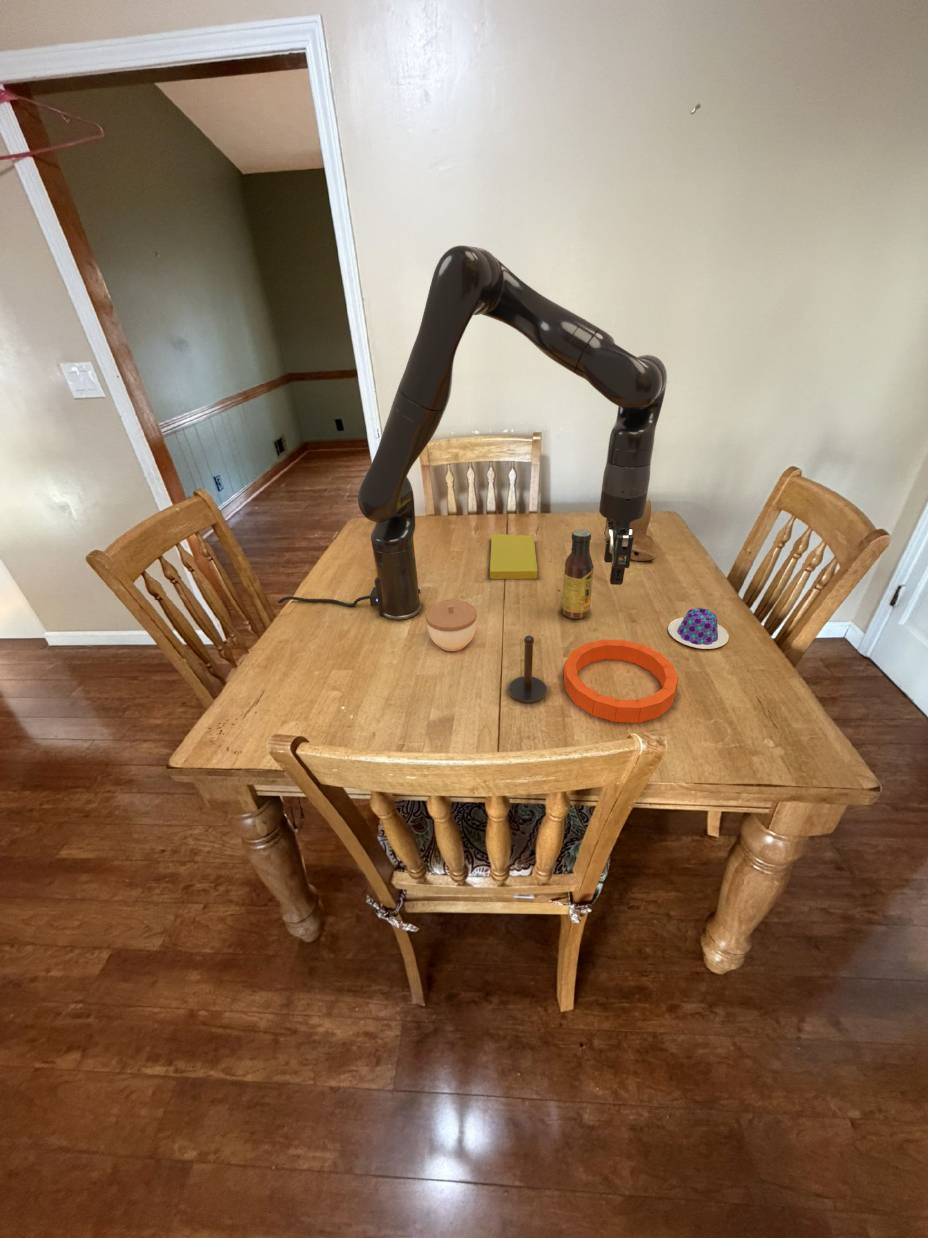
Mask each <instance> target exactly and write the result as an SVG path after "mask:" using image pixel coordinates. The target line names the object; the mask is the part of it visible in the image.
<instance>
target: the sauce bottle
mask: <svg viewBox="0 0 928 1238" xmlns="http://www.w3.org/2000/svg"><path fill="white" fill-rule="evenodd" d="M591 540H592V532H591V531H590V530H587V529H582V528H580V529H575V530H573V531H572V532H571V541H572V542H571V551H570V554H569V555H568V556H567V557H566V560H565V563H564V572H563V585H562V586H563V587H562V603H561V604H562V605H561V606H562V608H561V610H562V614H563V615H564V616H565V617H566V618H569V619H572V620H581V619H585V618H586V617H587V616H588V615H589V612H590V608H591V600H592V591H593V589H592V588H593V580H594V579H593V578H594V567H595V566H594V564H593V560H592V556H591V552H590V547H591V546H590V545H591Z"/></svg>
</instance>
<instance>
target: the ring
mask: <svg viewBox="0 0 928 1238" xmlns="http://www.w3.org/2000/svg"><path fill="white" fill-rule="evenodd" d="M603 660H611V661H612V660H613V661H615V660H616V661H617V660H618V661H624V662H628V663H631V664H636V665H638V666H640V667H642V668H643V669H645V670H647V671H649V672H650V673H651V674H652V675H653V676H654V677H655V678H656V679H657V680H658V681H659V683H660V686H661V689H659V690H658V691H656V693H654V694H653V695H649V696H646V697H642V698H639V699H638V698H637V699H622V698H621V699H620V698H615V697H611V696H607V695H604V694H601V693H598V692H597V691H595V690H593V689H592V688H590V687H589V686H587V685H586V684H585V683H584V681H583V680H582V679H581V678H580V676H579V675H578V673H579V671H580V670H581V669H582V668H584V667H586V666H587V665H589V664H590V663H594V662H595V663H596V662H598V661H603ZM563 681H564V690H565V692H566V694H567V695H568V696H569V698H570V699H571V701H572V702H573V703H574V705H576V706H577V707H579V709H580V708H581V709H582V710H583V711H585V712H586V713H588V714H589V715H591V716H593V717H596V718H600V719H603V720H606V721H610V722H612V723H627V724H628V723H629V724H640V723H645V722H648V721H650V720H654V719H658V718H660V717H661V716H662V715H663V714H664V713H666V712H667V711H668V710H670V709H671V708H672V705H673V702H674V698H675V695H676V691H677V687H678V683H679V677H678V674H677V671H676V669H675V666H674V664H672V662H670V660H669V659H667V658H666V657H665V655H663V654H662V653H661V652H659V651H657V650H655V649H653V648H651V647H649V646H647V645H645V644H643V643H637V642H633V641H630V640H627V639H626V640H625V639H608V638H607V639H606V638H605V639H604V638H603V639H597V640H594V641H590V642H585V643H583V644H582V645H580V646H578V647H576V648H575V649H573V650H572V651H571V652H570V654H569V656H568V657H567V659H565V662H564V672H563Z"/></svg>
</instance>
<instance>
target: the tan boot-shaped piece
mask: <svg viewBox="0 0 928 1238" xmlns="http://www.w3.org/2000/svg"><path fill="white" fill-rule="evenodd" d="M651 516H652V501H651V499H650V498H649V497H648V496H647V498H646V504H645V510H644V515H643V516H642V517H641V518H640V519H638V520H634V521H632V522H630V527H632V535H633V537H634V540H633V544H632V551H631V558H630V561H631V560H632V561H636V562H645V561H651V560H655V559H656V556H657V553H656V544H655V540H654V539H653V536H651V535H647V533H648V527H649V524H650V521H651Z"/></svg>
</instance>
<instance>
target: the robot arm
mask: <svg viewBox="0 0 928 1238" xmlns="http://www.w3.org/2000/svg"><path fill="white" fill-rule="evenodd" d="M479 315H482V316H486V317H487V318H490V319H494V320H496V321H499V322H501V323H503V324H506V326H509V327H511V328H512V329H514V330H516V331H517V332H519V333H520V334H522V336H524V338H526V339H527V340H528V341H530V343H532V345H534V347H536V349H538V350H539V351H540V352H542V354H544V355H546V357H548V358H549V359H550V360H551V361H553V362H555V363H556V364H558V365H560V366H561V367H563V368H565V369H566V370H567V371H569V372H571V373H573V374H575V375H576V376H578V377H580V378H582V379H584V380H585V381H587V383H589V384H590V386H592V387H593V389H595V390H596V391H597V392H599V394H601V395H602V396H603V397H604V398H606V400H608V401H609V402H611V403H612V404H614V405H615V406H617V407H618V408H617V413H616V414H617V416H616V420H615V423H614V424H613V426H612V428H611V431H610V434H609V439H608V444H607V445H608V446H607V454H606V463H605V467H604V471H603V475H602V484H601V493H600V499H599V500H600V502H599V508H598V509H599V514H600V515H601V516H602V517H603V518H604V519H605V526H604V532H603V534H604V542H605V549H604V557H603V560H604V563H606V564H608V563H610V564H611V569H610V575H609V584H610V585H614V586H620V585H622V584H623V583H624V577H625V570H626V569H629V568H630V566H631V559H630V558H631V551H632V544H633V540H634V537H633V535H632V527H630V522H632V521H634V520H638V519H640V518H641V517H642V516H643V515H644V510H645V504H646V498H647V497H648V491H649V486H650V479H651V465H652V463H651V462H652V457H653V452H654V445H655V435H656V429H657V425H658V421H659V417H660V414H661V410H662V407H663V403H664V397H665V394H666V389H667V382H668V373H667V369H666V366H665V364H664V362H663V361H662V360H661V359H660V358H659V357H658V356H655V355H651V354H642V355H639V356H636V355H634V354H632V353H631V352H629V351H627V350H626V349H624V348H623V347H621V346H619V345H618V344H616V341H615V339H614V337H613V336H612V335H610V334H609V333H608V332H607V331H605V330H603V329H602V328H601V327H599V326H597V325H595V324H594V323H592V322H590V321H588V320H587V319H586V318H584V317H582V316H580V315H578V314H576V313H575V312H572V311H571V310H569V309H567V308H565V307H563V306H562V305H559V304H558V303H556V302H555V301H552V300H551V299H550V298H547V297H546V296H544V295H542V294H541V293H539V292H538V291H537V290H535V289H533V287H531V286H530V285H528V284H527V283H525V282H524V281H523V280H521V279H520V278H519V277H518V276H517V275H516V274H515V273H514V272H512V271H511V270H510V269H509V268H508V267H507V266H506V265H505V264H504V263H502V262H501V261H500V260H499V259H498V258H497V257H496V256H495V255H493V253H492V252H490V251H489V250H487V249H485V248H481V247H476V246H470V245H464V244H463V245H460V244H459V245H455V246H453V247H451V248H448V249H447V250H446V251H445V252H444V253H443V255H442V256H441V257H440V258H439V260H438V262H437V264H436V266H435V269H434V271H433V275H432V278H431V281H430V285H429V289H428V293H427V298H426V302H425V306H424V310H423V314H422V318H421V322H420V325H419V328H418V333H417V336H416V338H415V341H414V343H413V346H412V348H411V350H410V351H411V352H410V354H409V358H408V360H407V363H406V366H405V368H404V370H403V371H404V372H403V375H402V376H401V379H400V381H399V384H398V387H397V389H396V392H395V396H394V398H393V401H392V403H391V406H390V410H389V414H388V417H387V420H386V422H385V425H384V428H383V430H382V434H381V437H380V441H379V444H378V447H377V449H376V453H375V455H374V457H373V459H372V462H371V463H370V465H369V468H368V470H367V471H366V474H365V476H364V477H363V479H362V482H361V484H360V486H359V488H358V492H357V504H358V507H359V510H360V512H361V514H362V516H364V518H365V519H367V520H369V522H373V523H375V525H374V528H373V529H372V531H371V534H370V540H371V541H370V542H371V548H372V555H373V562H374V569H375V574H376V577H375V579H374V586H373V587H372V589H371V590H370V593H369V595H364V596H361V597H357V598H355V600H354V601H353V602H351V603H346V602H343V601H340V600H337V599H330V598H305V597H299V596H284V597H282V598H281V599H279V600H278V601H277V604H282V603H283V602H285V601H288V600H293V601H300V602H305V603H333V604H338V605H341V606H343V607H348V608H353V607H355V606H356V605H357V604H358V603H359V602H361V601H366V600H369V604H370V607H378V613H379V614H378V615H379V617H385V618H386V619H388V620H393V621H402V620H403V621H404V620H408V619H412V618H413V617H415V616H417V615H419V613H420V612H421V609H422V605H421V599H420V596H421V595H422V594H421V593H422V592H421V589H420V587H419V579H418V571H417V561H416V551H415V542H414V534H415V530H416V511H415V496H414V489H413V486H412V483H411V481H410V479H409V477H408V475H409V472H410V470H411V469H412V467H413V466H414V464H415V463H416V461H417V460H418V458H419V457H420V456H421V454H422V453H423V451H424V450H425V448H426V447H427V446H428V444H429V443H430V441H431V440H432V438H433V437H434V435H435V433H436V432H437V429H438V428H439V426H440V423H441V421H442V419H443V416H444V413H445V412H446V409H447V407H448V404H449V402H450V398H451V394H452V388H453V387H452V386H453V376H454V375H453V373H454V371H453V370H454V362H455V357H456V353H457V350H458V347H459V345H460V343H461V340H462V338H463V336H464V333H465V332H466V329H467V327H468V325H469V324H470V322H471V320H472V318H473V316H479ZM620 557H623V559H619V558H620Z"/></svg>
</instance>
